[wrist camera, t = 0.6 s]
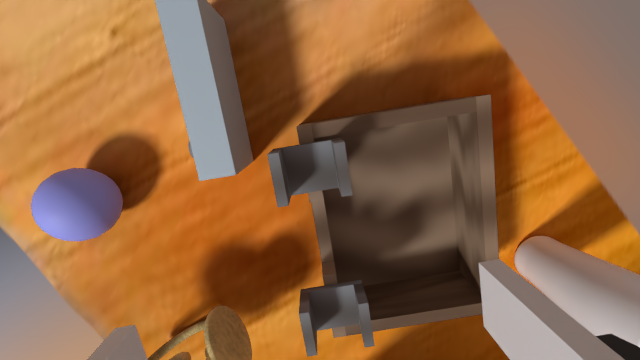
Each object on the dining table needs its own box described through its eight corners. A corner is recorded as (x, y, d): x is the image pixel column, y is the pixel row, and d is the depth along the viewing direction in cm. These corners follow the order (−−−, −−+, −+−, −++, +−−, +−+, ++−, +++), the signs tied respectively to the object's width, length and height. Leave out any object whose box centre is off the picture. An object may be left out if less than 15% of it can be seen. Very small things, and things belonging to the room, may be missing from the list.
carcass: (279, 127, 33) (263, 133, 22) (453, 98, 32) (519, 91, 22) (311, 299, 37) (310, 371, 26) (466, 274, 37) (526, 337, 26)
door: (185, 26, 31) (141, -4, 23) (224, 19, 31) (194, -13, 23) (217, 166, 34) (188, 182, 26) (253, 160, 33) (235, 174, 26)
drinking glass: (563, 222, 36) (739, 298, 21) (564, 276, 37) (731, 383, 22) (503, 233, 36) (636, 316, 21) (507, 287, 37) (634, 400, 22)
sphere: (99, 149, 33) (43, 158, 26) (150, 197, 34) (109, 218, 27) (56, 193, 34) (-10, 213, 27) (107, 238, 35) (57, 269, 28)
